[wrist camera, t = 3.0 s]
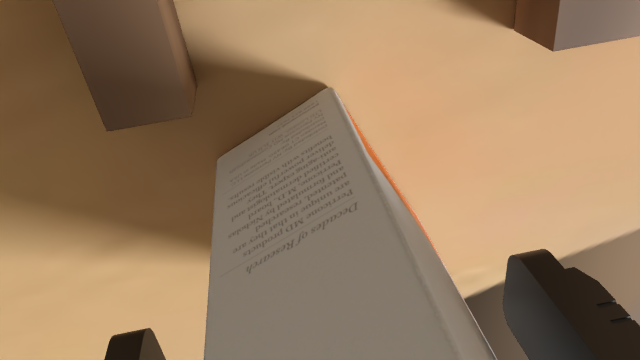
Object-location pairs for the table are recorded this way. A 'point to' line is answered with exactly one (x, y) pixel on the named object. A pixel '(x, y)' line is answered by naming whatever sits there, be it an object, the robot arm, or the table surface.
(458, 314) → the skincare box
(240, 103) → the table surface
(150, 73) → the wooden u-shaped block
